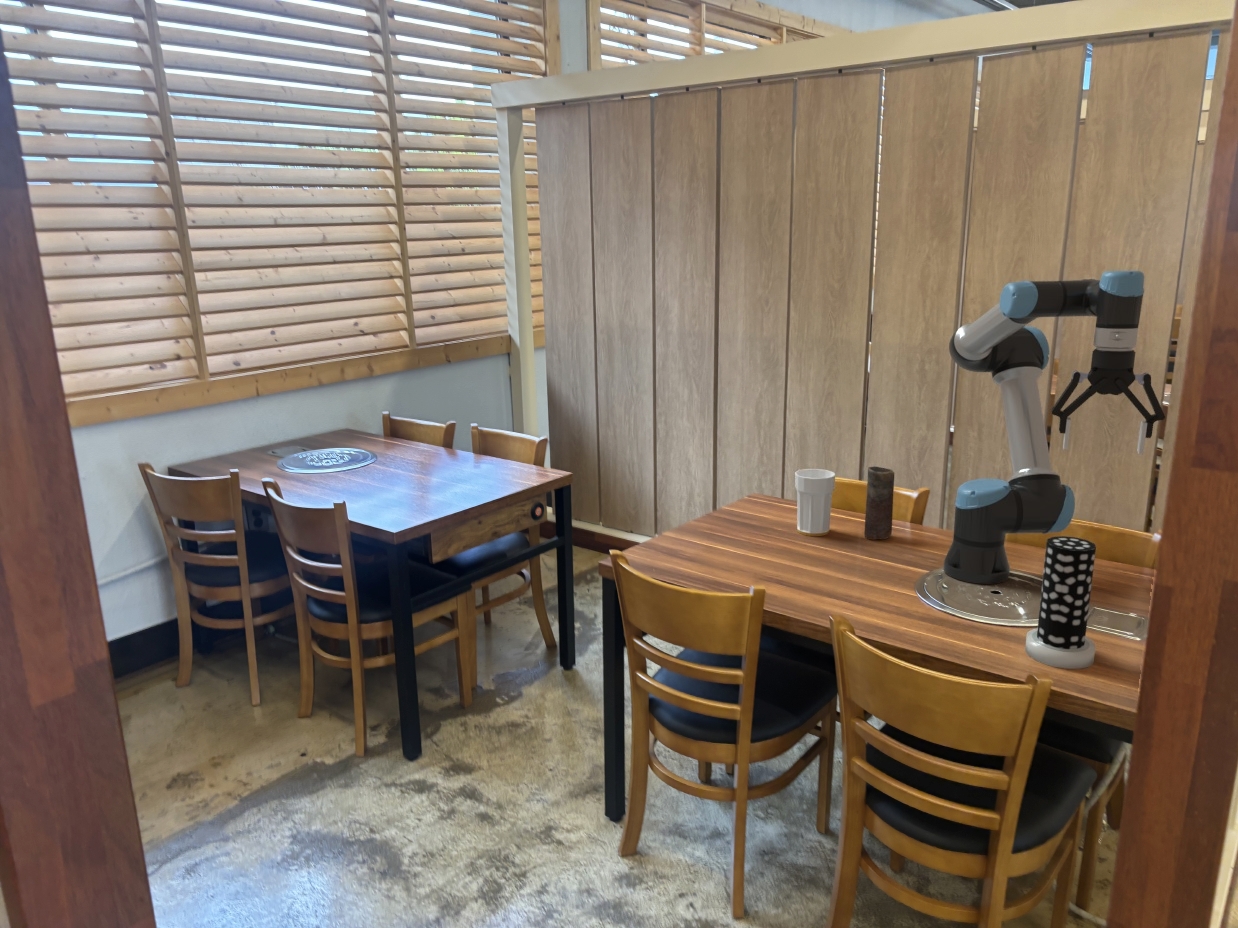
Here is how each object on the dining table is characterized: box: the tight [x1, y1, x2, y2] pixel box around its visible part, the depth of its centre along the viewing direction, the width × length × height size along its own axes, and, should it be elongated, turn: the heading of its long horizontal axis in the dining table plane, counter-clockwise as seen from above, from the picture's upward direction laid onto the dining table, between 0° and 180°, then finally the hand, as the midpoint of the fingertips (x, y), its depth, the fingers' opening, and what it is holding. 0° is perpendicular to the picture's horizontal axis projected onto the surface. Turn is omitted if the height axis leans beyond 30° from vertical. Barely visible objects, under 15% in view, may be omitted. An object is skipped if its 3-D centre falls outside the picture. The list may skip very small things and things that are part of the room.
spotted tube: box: [1037, 535, 1097, 649], centre depth 160 cm, size 8×8×20 cm
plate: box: [1024, 627, 1096, 670], centre depth 163 cm, size 12×12×3 cm
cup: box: [794, 468, 836, 537], centre depth 238 cm, size 11×11×17 cm
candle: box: [863, 466, 895, 541], centre depth 232 cm, size 8×7×20 cm
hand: (1102, 451), depth 172 cm, fingers open, 13 cm apart
